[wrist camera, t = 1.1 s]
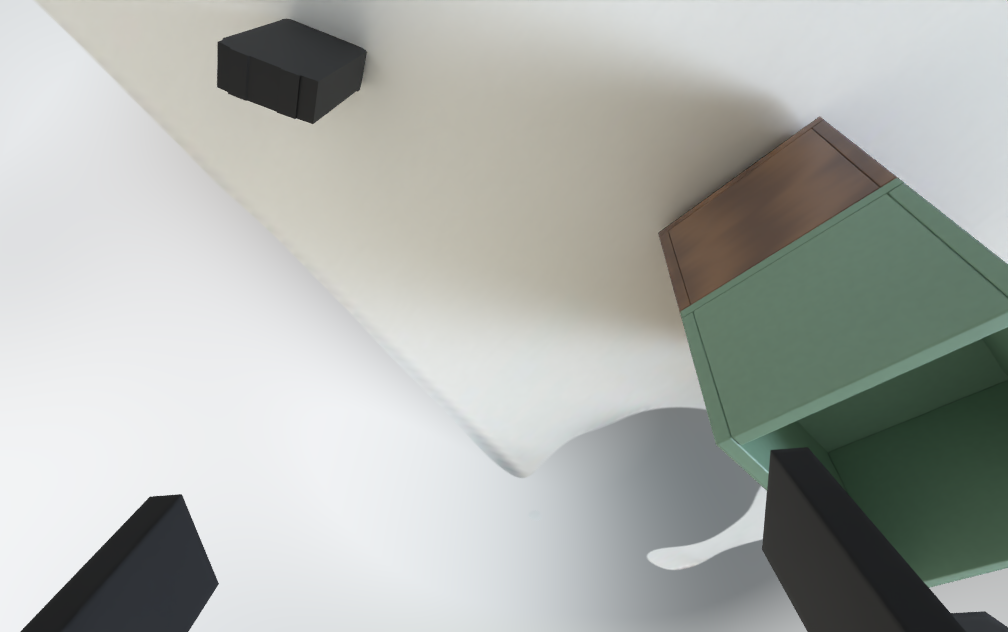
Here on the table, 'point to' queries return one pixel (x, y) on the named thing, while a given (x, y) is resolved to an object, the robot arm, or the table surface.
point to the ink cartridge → (290, 69)
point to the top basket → (874, 374)
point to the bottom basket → (767, 209)
